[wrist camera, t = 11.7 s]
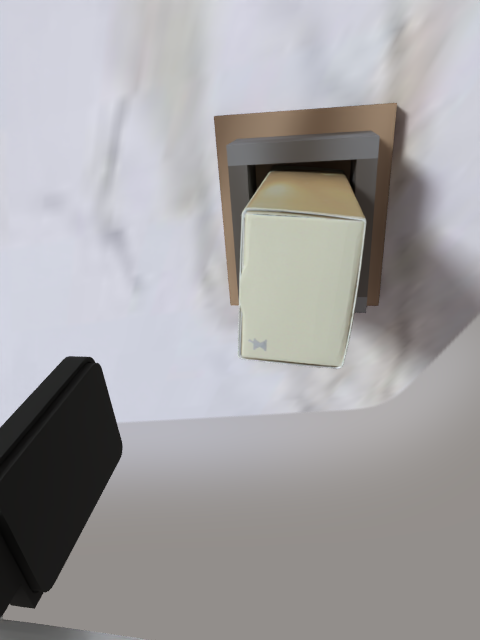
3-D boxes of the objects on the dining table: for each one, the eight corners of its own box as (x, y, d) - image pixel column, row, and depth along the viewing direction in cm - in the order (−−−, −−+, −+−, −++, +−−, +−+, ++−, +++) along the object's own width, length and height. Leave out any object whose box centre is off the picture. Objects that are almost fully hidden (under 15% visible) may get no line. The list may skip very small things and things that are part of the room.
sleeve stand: (394, 102, 23) (410, 104, 19) (376, 300, 29) (386, 331, 25) (216, 116, 25) (199, 119, 21) (232, 300, 30) (221, 329, 27)
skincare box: (331, 267, 27) (344, 379, 17) (264, 262, 28) (235, 367, 17) (346, 162, 24) (373, 216, 14) (270, 158, 25) (239, 208, 14)
